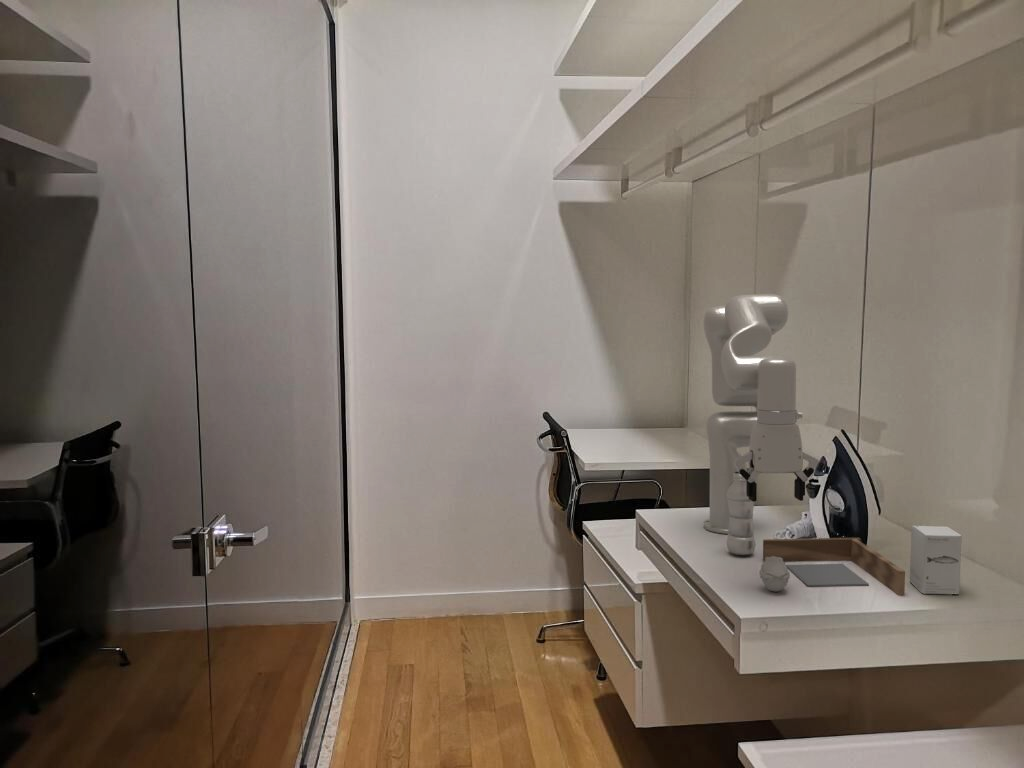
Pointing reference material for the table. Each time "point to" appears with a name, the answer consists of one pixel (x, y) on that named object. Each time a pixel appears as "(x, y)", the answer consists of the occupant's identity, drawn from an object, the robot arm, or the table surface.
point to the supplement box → (935, 559)
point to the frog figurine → (774, 573)
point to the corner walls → (838, 556)
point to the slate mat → (826, 575)
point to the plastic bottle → (740, 518)
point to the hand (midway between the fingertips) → (775, 499)
